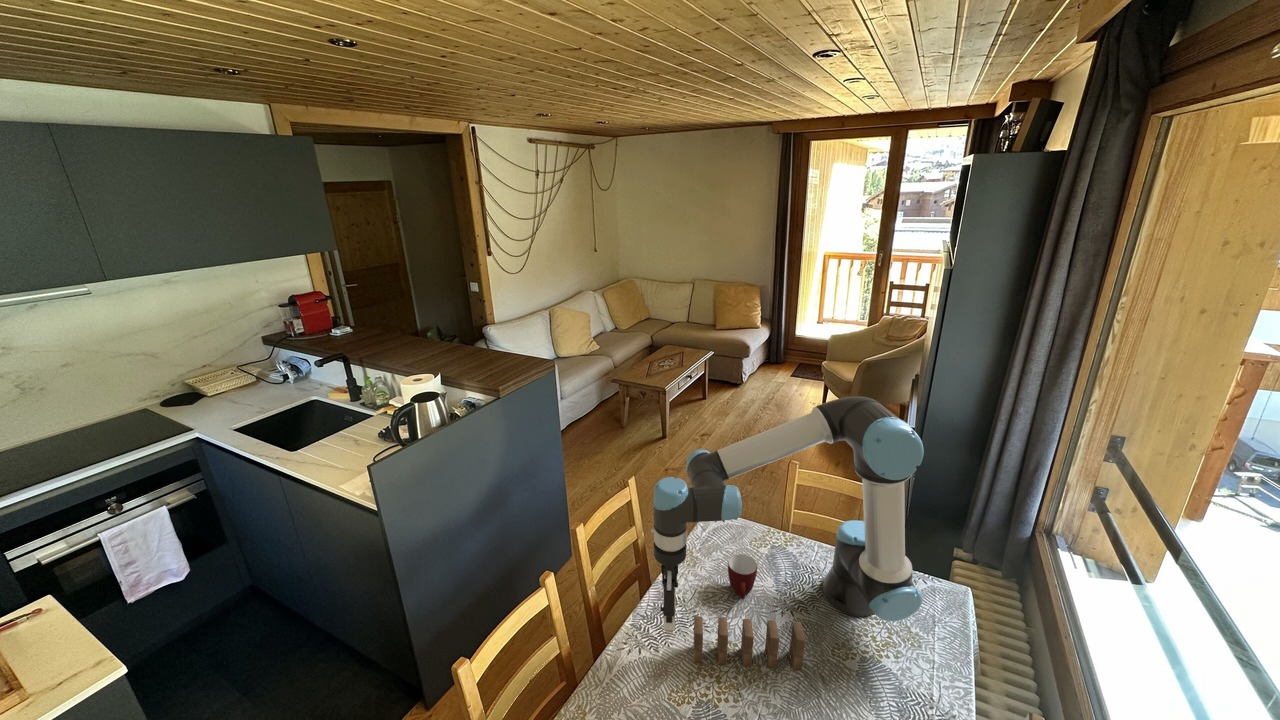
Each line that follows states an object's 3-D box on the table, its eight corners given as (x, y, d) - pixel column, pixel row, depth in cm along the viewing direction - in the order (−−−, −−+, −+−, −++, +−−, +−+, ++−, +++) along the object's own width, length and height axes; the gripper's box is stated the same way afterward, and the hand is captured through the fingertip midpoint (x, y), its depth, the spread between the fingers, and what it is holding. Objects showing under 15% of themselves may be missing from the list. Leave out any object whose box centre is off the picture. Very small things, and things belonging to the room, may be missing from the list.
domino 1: (673, 614, 123) (674, 583, 120) (673, 631, 118) (673, 599, 115) (665, 614, 123) (665, 582, 120) (664, 631, 119) (664, 599, 115)
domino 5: (773, 650, 124) (775, 620, 121) (776, 668, 120) (779, 638, 116) (764, 650, 124) (767, 620, 121) (767, 668, 120) (770, 637, 116)
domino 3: (725, 647, 125) (726, 617, 122) (726, 665, 121) (728, 635, 117) (716, 647, 126) (718, 617, 122) (718, 665, 121) (719, 634, 117)
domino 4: (748, 649, 125) (751, 619, 121) (751, 667, 120) (753, 636, 117) (740, 648, 125) (742, 618, 122) (742, 666, 120) (744, 636, 117)
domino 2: (701, 646, 126) (702, 616, 123) (702, 664, 121) (703, 633, 118) (693, 645, 126) (693, 615, 123) (693, 663, 121) (694, 633, 118)
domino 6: (797, 652, 124) (800, 622, 120) (801, 670, 119) (805, 639, 116) (788, 651, 124) (792, 621, 121) (792, 670, 119) (796, 639, 116)
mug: (759, 610, 136) (761, 581, 133) (729, 609, 136) (731, 581, 133) (752, 581, 146) (754, 554, 143) (725, 580, 146) (726, 553, 143)
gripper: (655, 516, 121) (656, 589, 129) (651, 569, 104) (651, 650, 112) (686, 517, 121) (684, 591, 129) (686, 571, 104) (684, 653, 112)
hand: (669, 618), depth 120 cm, fingers closed on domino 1, 5 cm apart
